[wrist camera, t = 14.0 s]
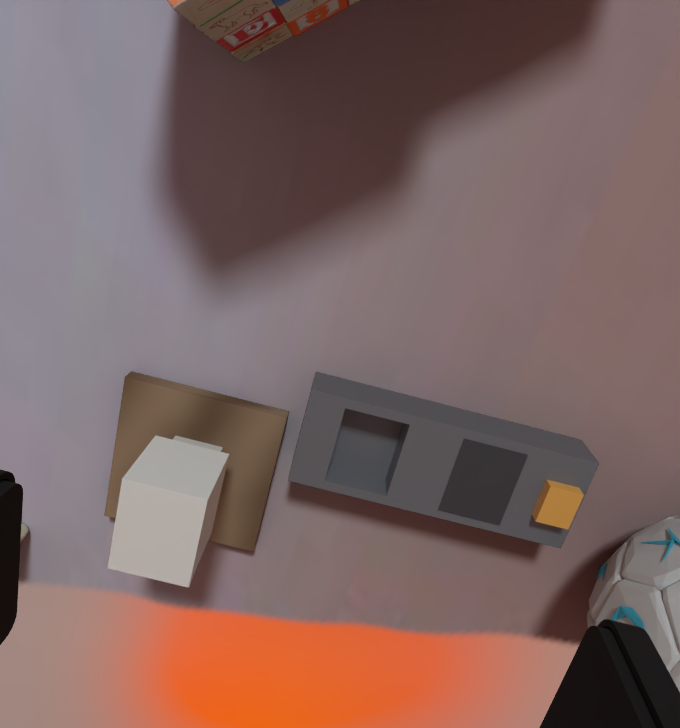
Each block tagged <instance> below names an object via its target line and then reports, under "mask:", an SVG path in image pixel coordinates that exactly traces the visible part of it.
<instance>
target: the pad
mask: <svg viewBox="0 0 680 728" xmlns="http://www.w3.org/2000/svg"><path fill="white" fill-rule="evenodd" d="M288 413H289V411H285V410H281V409H277V408H273V407H269V406H265V405H261V404H257V403H254V402H250V401H246V400H242V399H238V398H234V397H230V396H226V395H222V394H218V393H214V392H210V391H206V390H202V389H198V388H194V387H191V386H187V385H183V384H179V383H175V382H171V381H167V380H163V379H159V378H155V377H151V376H147V375H143V374H139V373H135V372H130V373H129V374H128V375H127V376H126V377H125V381H124V387H123V394H122V401H121V408H120V414H119V421H118V428H117V434H116V441H115V448H114V455H113V461H112V468H111V475H110V482H109V488H108V495H107V502H106V509H105V515H104V516H108V517H112V518H116V514H117V508H118V501H119V495H120V489H121V483H122V478H123V477H124V476H125V474H126V473H127V472H128V470H129V469H130V468H131V466H132V465H133V464H134V463H135V461H136V460H137V459H138V457H139V456H140V455H141V454H142V452H143V451H144V450H145V448H146V447H147V446H148V445H149V443H150V442H151V441H152V439H153V438H154V437H155V435H156V436H160V437H164V438H168V439H172V440H173V438H174V437H175V436H180V437H184V438H188V439H192V440H196V441H200V442H203V443H207V444H211V445H215V446H219V447H223V449H222V452H224V453H228V454H229V458H228V462H227V466H226V471H225V475H224V480H223V484H222V489H221V493H220V498H219V502H218V507H217V511H216V515H215V520H214V524H213V529H212V533H211V535H210V538H209V540H208V541H211V542H215V543H219V544H223V545H227V546H232V547H236V548H240V549H244V550H248V551H252V552H253V551H254V548H255V544H256V540H257V536H258V532H259V528H260V524H261V520H262V517H263V513H264V509H265V505H266V501H267V497H268V493H269V489H270V485H271V481H272V477H273V473H274V469H275V465H276V461H277V457H278V453H279V449H280V445H281V441H282V437H283V433H284V429H285V425H286V421H287V417H288Z"/></svg>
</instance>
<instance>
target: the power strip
mask: <svg viewBox="0 0 680 728" xmlns="http://www.w3.org/2000/svg"><path fill="white" fill-rule="evenodd" d="M598 465H599V462H598V461H597V459H596V458H595V457H594V456H593V454H592V453H591V452H590V451H589V449H588V448H587V447H586V445H585V444H584V443H583V442H582V440H579V439H575V438H571V437H567V436H564V435H560V434H556V433H552V432H548V431H544V430H540V429H536V428H533V427H529V426H525V425H521V424H517V423H513V422H509V421H505V420H501V419H498V418H494V417H490V416H486V415H482V414H478V413H474V412H470V411H467V410H463V409H459V408H455V407H451V406H447V405H443V404H439V403H435V402H432V401H428V400H424V399H420V398H416V397H412V396H408V395H404V394H400V393H397V392H393V391H389V390H385V389H381V388H377V387H373V386H369V385H366V384H362V383H358V382H354V381H350V380H346V379H342V378H338V377H334V376H331V375H327V374H323V373H319V372H316V373H315V377H314V381H313V385H312V388H311V392H310V396H309V400H308V404H307V408H306V411H305V415H304V419H303V423H302V427H301V431H300V434H299V438H298V442H297V446H296V450H295V453H294V457H293V461H292V466H291V470H290V474H289V478H288V481H291V482H295V483H299V484H303V485H307V486H311V487H315V488H319V489H323V490H327V491H331V492H335V493H339V494H343V495H347V496H351V497H356V498H360V499H364V500H368V501H372V502H376V503H380V504H384V505H388V506H392V507H396V508H400V509H404V510H408V511H412V512H416V513H420V514H424V515H428V516H432V517H436V518H440V519H444V520H448V521H452V522H456V523H460V524H464V525H468V526H472V527H476V528H480V529H484V530H488V531H492V532H496V533H500V534H504V535H508V536H512V537H516V538H520V539H524V540H528V541H533V542H537V543H541V544H545V545H549V546H553V547H557V548H561V547H562V545H563V542H564V540H565V538H566V536H567V534H568V531H569V529H570V527H571V525H572V523H573V520H574V518H575V516H576V514H577V512H578V509H579V507H580V505H581V503H582V500H583V498H584V496H585V494H586V492H587V489H588V487H589V485H590V483H591V481H592V478H593V476H594V474H595V472H596V470H597V467H598Z"/></svg>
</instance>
